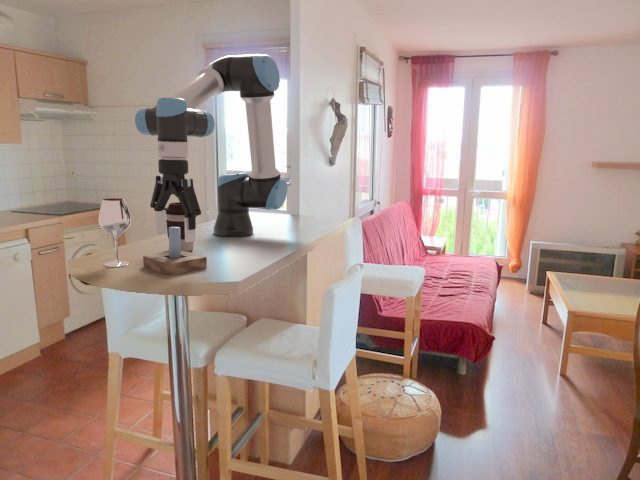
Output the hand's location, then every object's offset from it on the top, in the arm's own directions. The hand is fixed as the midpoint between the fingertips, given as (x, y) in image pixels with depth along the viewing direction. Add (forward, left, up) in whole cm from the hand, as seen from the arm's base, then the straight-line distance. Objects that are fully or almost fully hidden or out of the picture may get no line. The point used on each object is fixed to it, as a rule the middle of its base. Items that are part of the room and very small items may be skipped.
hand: (175, 237), depth 131 cm
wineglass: (+10, -13, -8) cm, 19 cm away
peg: (0, 0, -8) cm, 8 cm away
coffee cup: (-14, -18, -8) cm, 24 cm away
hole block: (0, 0, -8) cm, 8 cm away
